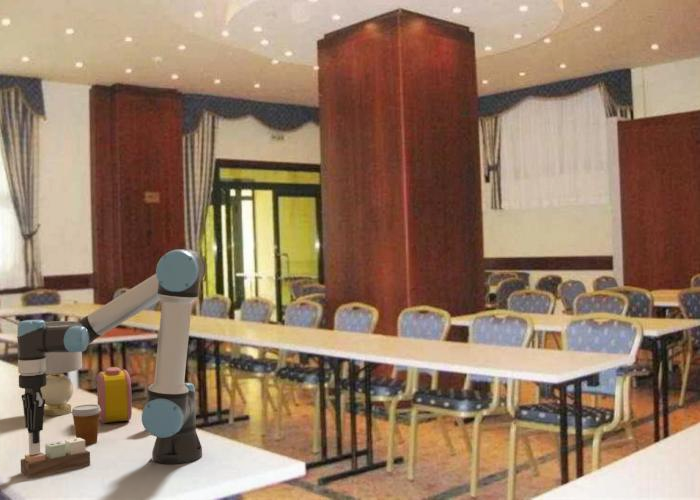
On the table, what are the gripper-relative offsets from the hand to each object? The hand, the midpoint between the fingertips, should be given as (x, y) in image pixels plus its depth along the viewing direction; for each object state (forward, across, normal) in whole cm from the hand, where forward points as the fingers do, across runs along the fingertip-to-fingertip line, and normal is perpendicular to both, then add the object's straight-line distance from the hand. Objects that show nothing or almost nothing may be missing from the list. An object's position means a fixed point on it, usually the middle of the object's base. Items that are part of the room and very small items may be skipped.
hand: (34, 453), depth 230 cm
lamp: (+6, +77, -35) cm, 85 cm away
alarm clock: (+6, +48, -46) cm, 67 cm away
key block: (+6, 0, -6) cm, 8 cm away
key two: (+3, 0, -6) cm, 7 cm away
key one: (+3, 0, -12) cm, 12 cm away
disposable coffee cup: (+6, +23, -25) cm, 35 cm away
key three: (+5, 0, 0) cm, 5 cm away
